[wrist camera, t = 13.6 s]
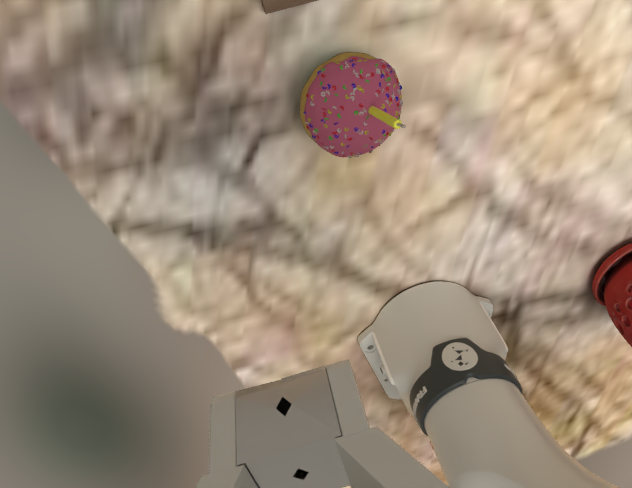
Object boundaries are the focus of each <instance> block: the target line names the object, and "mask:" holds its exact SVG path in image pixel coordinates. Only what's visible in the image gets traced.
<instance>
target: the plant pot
mask: <svg viewBox="0 0 632 488" xmlns="http://www.w3.org/2000/svg"><path fill="white" fill-rule="evenodd" d="M592 290H593V294H594V297H595V299H596V300H597V301H598V302H599V303H600V304H602V305H604V306H606V308H607V311H608V313H609V316H610V318H611V320H612V321H613V323H614V325H615V326H616V328H617V329H618V331H619V332H620V333H621V335H622V336H623V337H624V339H625V340H626V341H627V342H628V343H629V344H630V345H631V347H632V243H630V244H628V245H626V246H624V247H622V248H620V249H619V250H617V251H616V252H614V253H613V254H612V255H610V256H609V257H608V258H607V259H606V260H605V261H604V262H603V263H602V265H601V266H600V267H599V269H598V271H597V272H596V274H595V277H594V280H593V285H592Z"/></svg>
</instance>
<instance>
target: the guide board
mask: <svg viewBox="0 0 632 488" xmlns="http://www.w3.org/2000/svg"><path fill="white" fill-rule="evenodd" d="M313 1H317V0H262V4H263V8H264V12H265V13H266V14H267V13H271V12H275V11H279V10H283V9H286V8H290V7H294V6H298V5H302V4H306V3H309V2H313Z"/></svg>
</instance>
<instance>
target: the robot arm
mask: <svg viewBox="0 0 632 488" xmlns="http://www.w3.org/2000/svg"><path fill="white" fill-rule="evenodd" d="M493 309H494V307H493V305H492V303H491V301H490V300H489V299H487V298H483V297H478V296H475V295H473V294H472V293H470V292H469V291H468V290H467V289H466V288H464V287H462V286H461V285H458V284H455V283H452V282H444V281H437V282H429V283H424V284H420V285H417V286H414V287H412V288H410V289H408V290H406V291H404V292H402V293H400V294H399V295H397V296H396V297H395V298H393V299H392V300H391V301H390V302H389V303H388V304H387V305H386V306H385V307H384V308H383V309H382V310H381V312H380V313H379V315H378V316H377V318H376V320H375V321H374V323H373V324H372V325H371V326H370V327H368V328H367V329H366V330H365V331H364V332H362V333H361V334H360V335H359V337H358V343H359V345H360V347H361V349H362V351H363V353H364V354H365V356H366V358H367V360H368V362H369V363H370V365H371V367H372V369H373V371H374V372H375V374H376V376H377V378H378V380H379V381H380V383H381V385H382V387H383V389H384V390H385V392H386V394H387V396H388V397H389V398H391V399H402V400H403V402H404V404H405V406H406V408H407V410H408V412H409V414H410V415H412V416H414V417H415V419H416V421H417V423H418V425H419V426H420V428H421V429H422V431H423V433H424V434H425V435H427V436H428V437H429V439H430V443H431V446H432V448H433V450H434V452H435V454H436V456H437V459H438V461H439V464H440V466H441V468H442V471H443V473H444V476H445V478H446V480H447V483H448V485H449V486H447V485H446V484H445V483H444V482H443V481H441V480H440V479H439V478H438V477H437V476H435V475H434V474H433V473H432V472H431V471H429V470H428V469H427V468H426V467H425V466H424V465H422V464H421V463H420V462H419V461H418V460H416V459H415V458H414V457H413V456H412V455H410V454H409V453H408V452H407V451H406V450H404V449H403V448H402V447H401V446H400V445H398V444H397V443H396V442H395V441H394V440H393V439H391V438H390V437H389V436H388V435H387V434H385V433H384V432H383V431H382V430H381V429H379V428H378V427H373V428H370V426H369V423H368V420H367V416H366V413H365V410H364V407H363V403H362V400H361V397H360V393H359V390H358V387H357V383H356V380H355V377H354V374H353V370H352V367H351V364H350V362H349V360H345V361H342V362H338V363H335V364H331V365H328V366H322V367H319V368H316V369H312V370H309V371H306V372H302V373H299V374H295V375H292V376H289V377H285V378H282V379H281V380H278V381H274V382H270V383H267V384H263V385H259V386H255V387H251V388H247V389H243V390H239V391H235V392H232V393H228V394H224V395H220V396H217V397H213V400H212V403H211V411H210V445H209V475H205V476H202V477H201V479H200V480H199V482H198V484H197V486H196V488H342V487H346V486H351V488H619V487H617V486H615V485H613V484H611V483H609V482H607V481H605V480H603V479H602V478H600V477H598V476H597V475H595V474H593V473H592V472H590V471H589V470H588V469H586V468H585V467H583V466H582V465H581V464H579V463H578V462H577V461H576V460H575V459H574V458H572V457H571V456H570V455H569V454H568V453H567V452H566V451H565V450H564V449H563V448H562V447H561V446H560V445H559V444H558V442H557V441H556V440H555V438H554V437H553V436H552V435H551V434H550V432H549V431H548V430H547V429H546V427H545V426H544V425H543V423H542V422H541V421H540V419H539V418H538V417H537V415H536V414H535V412H534V411H533V410H532V408H531V407H530V405H529V404H528V402H527V401H526V399H525V398H524V397H523V395H522V394H523V393H522V388H521V385H520V384H519V382H518V380H517V377H516V375H515V374H514V372H513V371H512V369H511V368H510V367H509V366H508V365H507V363H506V362H505V359H506V356H507V352H508V347H507V345H506V343H505V342H504V340H503V338H502V336H501V335H500V333H499V331H498V330H497V328H496V326H495V325H494V323H493V321H492V320H491V316H492V313H493ZM326 368H327V369H326Z"/></svg>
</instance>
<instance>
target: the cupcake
mask: <svg viewBox="0 0 632 488" xmlns="http://www.w3.org/2000/svg"><path fill="white" fill-rule="evenodd" d="M400 87H401V88H400ZM401 89H402V86H401V85H400V82H399V81H398V78H397V76H396V73H395V69H393V68H392V67H391V66H390V65H389V64H388V63H387V62H385V61H384V60H382V59H376V58H374V57H372V56H370V55H368V54H365V53H353V52H345V53H341V54H339V55H337V56H335V57H333V58H331V59H329V60H328V61H327V62H325V63H323V64H321V65H319V66H318V67H317V68H316V69H315V70H314V72H313V73H312V75H311V76H310V78H309V80H308V81H307V83H306V84H305V86H304V88H303V90H302V93H301V104H300V117H301V120H302V123H303V126H304V128H305V130H306V132H307V133H308V135H309V136H310V137H311V138H312V139H313V140H314V141H315V142H316V143H317V144H318V145H319V146H320V147H321V148H323V149H324V150H326V151H327V152H329V153H331V154H333V155H335V156H338V157H350V158H351V156H355V157H358V156H359V155H361V154H364V153H367V152H370V153H371V152H372V151H373V149H375V148H376V147H378V146H380V144H382V143H383V142H384V141H385V140H386V139H387V138H388V136H390V135H391V133H392V132H393V131H394V128H395V129H398V128H400V127H402V128H405V127H406V125H403V124H402V123H401V121H400V120H399V118H400V113H401V106H402V104H403V103H402V102H401V101H402V98H401ZM371 150H372V151H371Z"/></svg>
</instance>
